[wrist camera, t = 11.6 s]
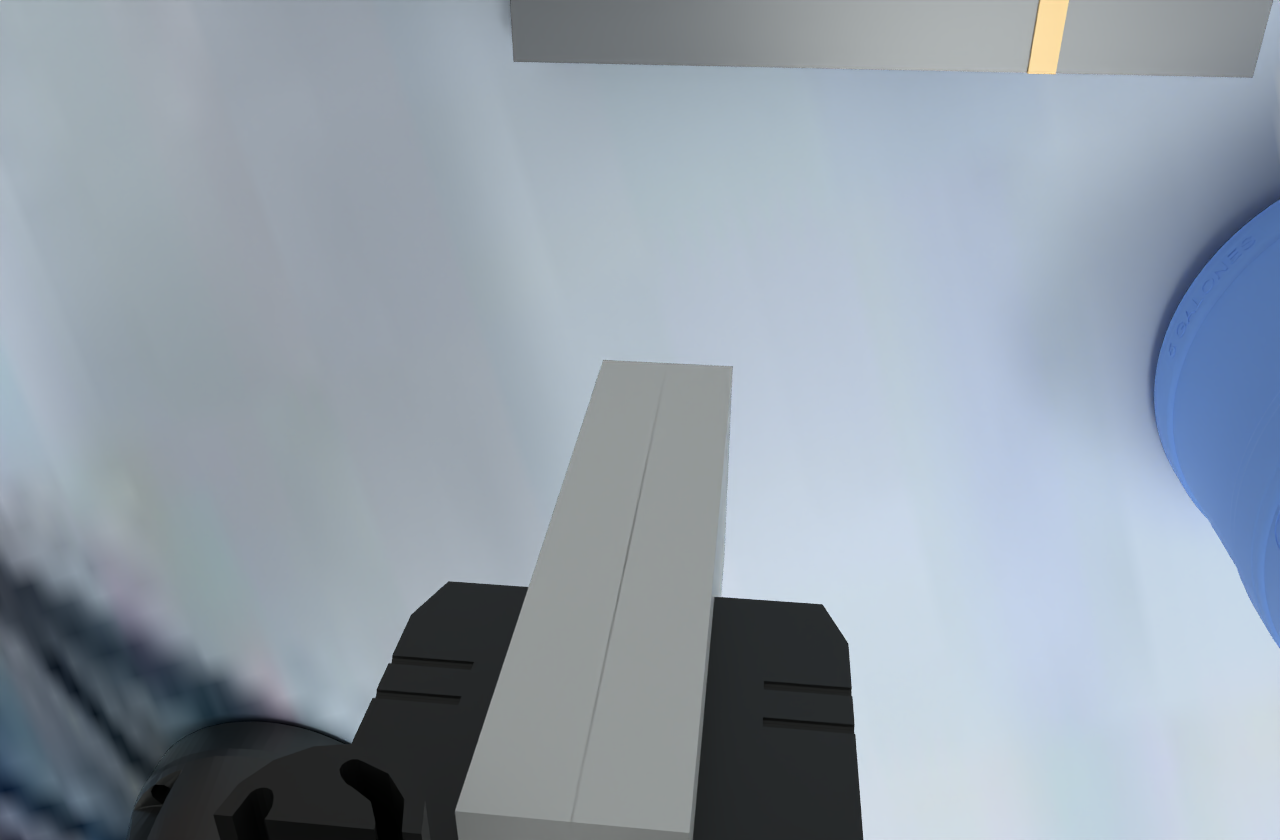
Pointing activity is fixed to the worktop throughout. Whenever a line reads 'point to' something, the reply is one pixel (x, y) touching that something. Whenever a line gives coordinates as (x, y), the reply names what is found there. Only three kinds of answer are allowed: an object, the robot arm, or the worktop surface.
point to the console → (901, 34)
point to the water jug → (1231, 403)
